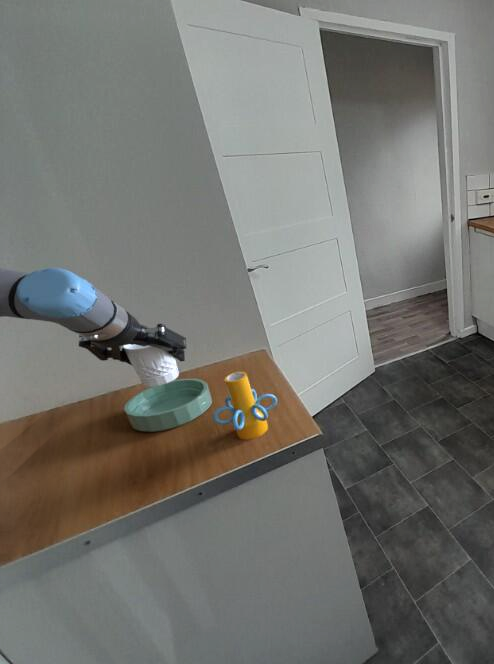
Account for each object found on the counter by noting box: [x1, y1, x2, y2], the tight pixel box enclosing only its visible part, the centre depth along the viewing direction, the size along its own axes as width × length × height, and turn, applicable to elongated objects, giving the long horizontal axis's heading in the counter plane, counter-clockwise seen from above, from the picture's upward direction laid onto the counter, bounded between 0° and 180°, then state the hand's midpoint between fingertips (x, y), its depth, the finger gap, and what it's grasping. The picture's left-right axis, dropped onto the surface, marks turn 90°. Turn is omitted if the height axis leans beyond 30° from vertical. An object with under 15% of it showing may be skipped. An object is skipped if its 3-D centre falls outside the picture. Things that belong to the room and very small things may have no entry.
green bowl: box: [123, 378, 213, 433], centre depth 98 cm, size 16×16×5 cm
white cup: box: [122, 344, 180, 388], centre depth 93 cm, size 8×8×10 cm
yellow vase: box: [212, 371, 278, 441], centre depth 90 cm, size 12×10×15 cm
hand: (161, 359), depth 97 cm, fingers closed on white cup, 8 cm apart
